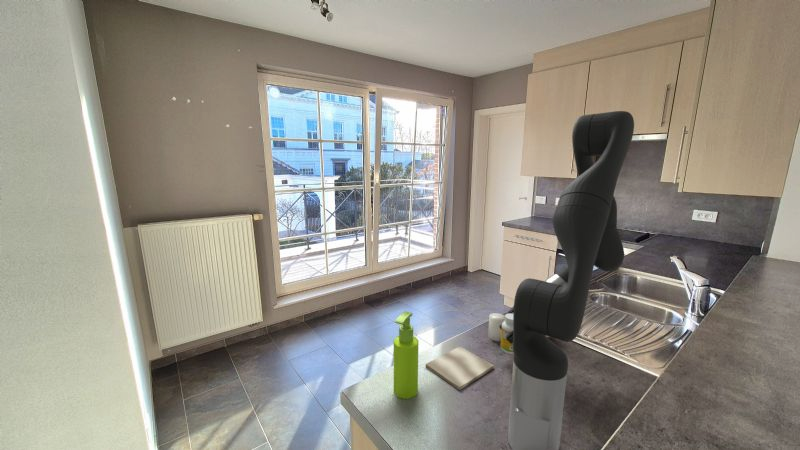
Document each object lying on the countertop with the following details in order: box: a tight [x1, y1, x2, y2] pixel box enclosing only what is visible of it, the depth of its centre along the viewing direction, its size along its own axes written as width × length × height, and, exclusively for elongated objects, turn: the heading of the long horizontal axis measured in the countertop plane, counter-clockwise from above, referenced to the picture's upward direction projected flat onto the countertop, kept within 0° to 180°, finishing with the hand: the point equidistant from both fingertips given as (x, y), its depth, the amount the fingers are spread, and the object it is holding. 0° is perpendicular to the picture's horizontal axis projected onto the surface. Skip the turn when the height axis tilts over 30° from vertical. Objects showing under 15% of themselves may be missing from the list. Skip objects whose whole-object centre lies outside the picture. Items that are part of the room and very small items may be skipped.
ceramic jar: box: [487, 312, 505, 342], centre depth 102 cm, size 5×5×7 cm
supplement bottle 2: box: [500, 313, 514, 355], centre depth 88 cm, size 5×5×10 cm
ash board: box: [425, 346, 494, 391], centre depth 86 cm, size 14×12×1 cm
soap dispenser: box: [393, 311, 419, 400], centre depth 75 cm, size 6×7×20 cm
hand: (504, 334), depth 88 cm, fingers closed on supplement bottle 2, 5 cm apart
